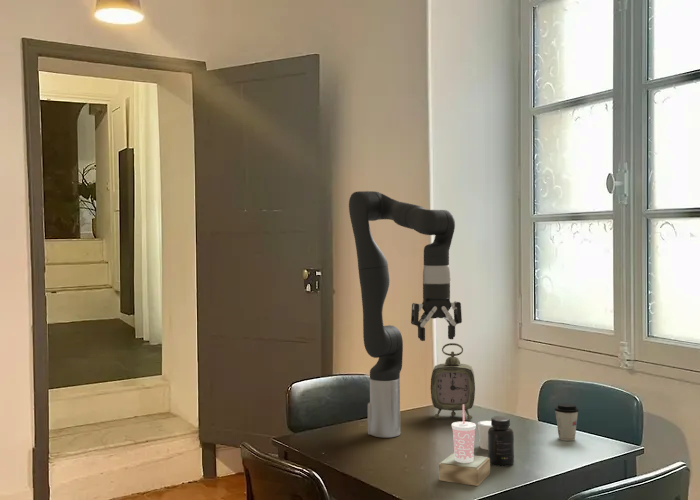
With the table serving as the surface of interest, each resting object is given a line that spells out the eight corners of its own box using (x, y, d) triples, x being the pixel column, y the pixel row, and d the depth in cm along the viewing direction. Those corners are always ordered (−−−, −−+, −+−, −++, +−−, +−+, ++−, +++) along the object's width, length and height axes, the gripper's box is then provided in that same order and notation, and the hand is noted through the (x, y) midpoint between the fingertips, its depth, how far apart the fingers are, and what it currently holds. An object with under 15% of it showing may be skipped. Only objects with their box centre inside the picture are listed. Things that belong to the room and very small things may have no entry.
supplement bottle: (485, 459, 196) (484, 415, 196) (509, 458, 197) (509, 414, 197) (492, 467, 190) (491, 421, 189) (517, 466, 190) (517, 420, 190)
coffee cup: (553, 440, 214) (553, 406, 214) (556, 434, 220) (555, 401, 220) (578, 442, 211) (577, 408, 211) (580, 436, 217) (579, 403, 217)
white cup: (502, 451, 204) (501, 426, 204) (477, 450, 205) (477, 425, 205) (502, 444, 211) (501, 420, 211) (478, 443, 212) (477, 419, 212)
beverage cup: (447, 461, 181) (446, 405, 181) (458, 455, 186) (457, 400, 186) (470, 465, 178) (469, 408, 178) (480, 458, 183) (479, 403, 183)
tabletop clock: (430, 420, 239) (429, 344, 239) (432, 413, 248) (431, 341, 248) (475, 421, 237) (474, 345, 237) (475, 414, 246) (474, 341, 245)
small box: (439, 480, 180) (438, 462, 180) (452, 468, 189) (452, 452, 189) (477, 485, 176) (477, 468, 176) (490, 473, 184) (489, 457, 184)
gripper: (454, 280, 207) (454, 336, 207) (407, 281, 203) (407, 339, 203) (465, 281, 200) (465, 340, 200) (417, 283, 196) (417, 343, 196)
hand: (436, 339), depth 202 cm, fingers open, 8 cm apart
